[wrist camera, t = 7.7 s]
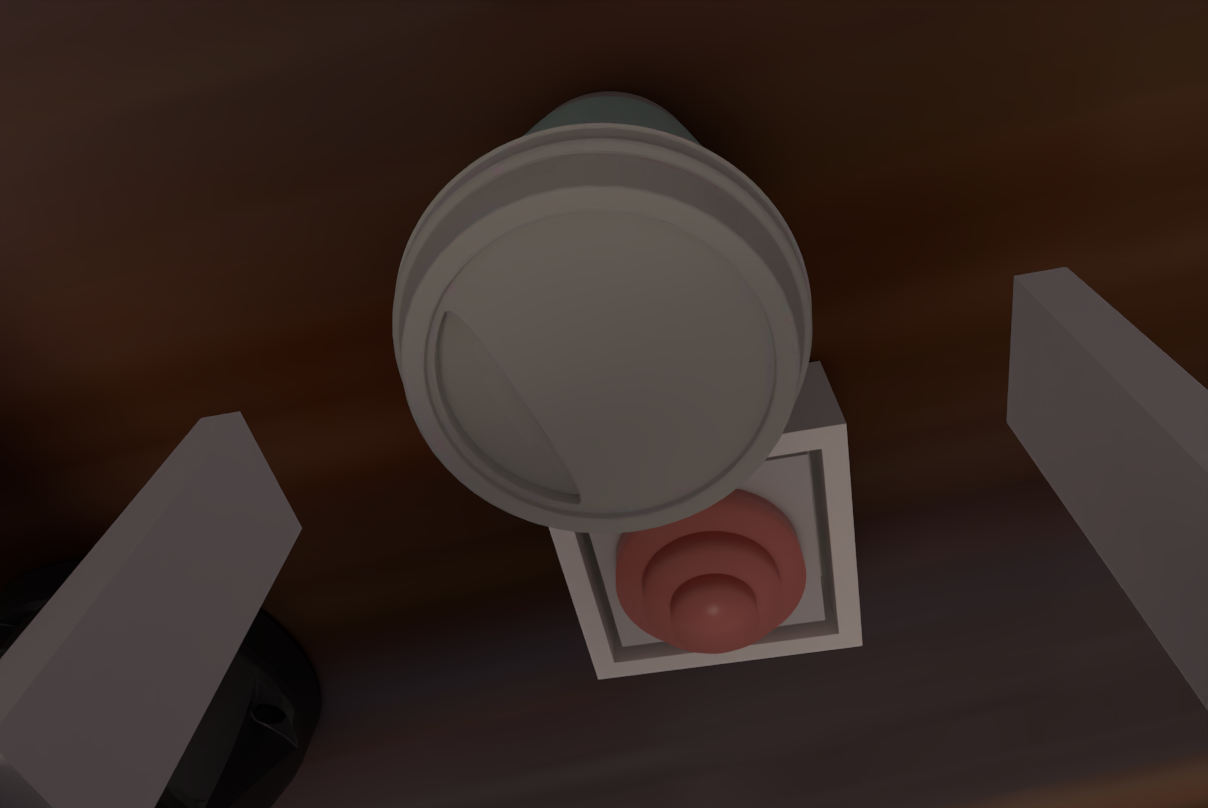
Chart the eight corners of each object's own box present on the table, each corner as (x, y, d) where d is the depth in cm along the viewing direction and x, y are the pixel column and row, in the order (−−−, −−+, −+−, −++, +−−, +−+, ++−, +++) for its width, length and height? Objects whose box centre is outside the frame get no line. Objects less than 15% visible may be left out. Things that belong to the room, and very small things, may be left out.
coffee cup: (471, 27, 23) (349, 129, 13) (770, 53, 23) (885, 173, 13) (473, 303, 28) (384, 540, 17) (725, 322, 28) (782, 569, 18)
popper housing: (838, 570, 34) (862, 645, 30) (600, 603, 35) (598, 679, 31) (819, 360, 28) (846, 423, 25) (542, 408, 30) (531, 474, 26)
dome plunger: (814, 581, 32) (843, 687, 27) (622, 608, 33) (622, 714, 28) (796, 420, 28) (827, 514, 24) (579, 456, 29) (571, 552, 25)
